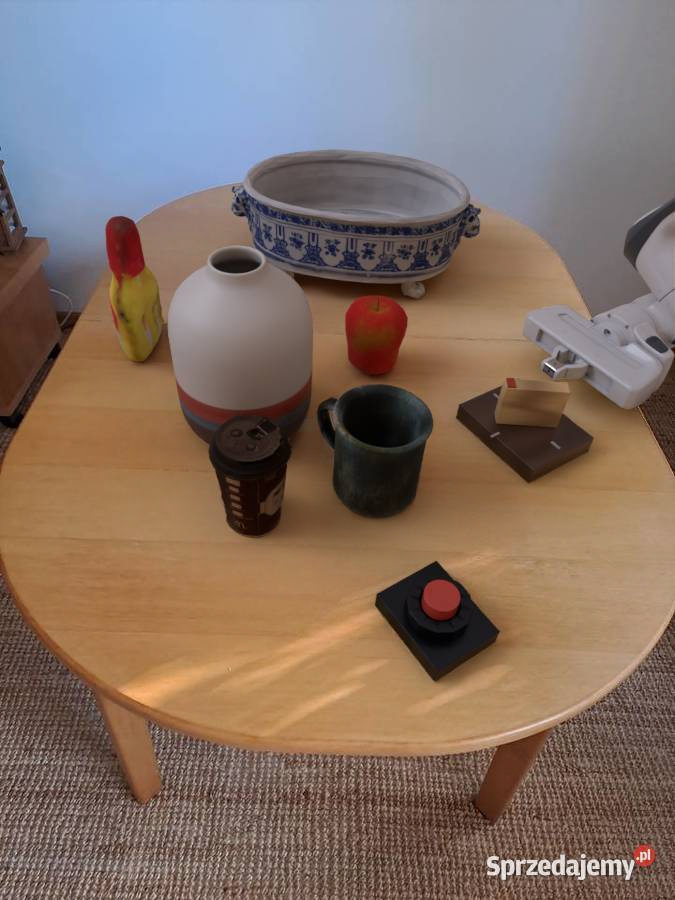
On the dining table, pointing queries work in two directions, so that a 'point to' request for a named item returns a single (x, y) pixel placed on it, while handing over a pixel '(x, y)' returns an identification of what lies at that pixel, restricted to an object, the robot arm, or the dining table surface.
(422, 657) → the button box
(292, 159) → the decorative bowl
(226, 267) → the vase
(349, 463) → the mug
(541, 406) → the wooden block
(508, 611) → the dining table surface
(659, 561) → the dining table surface
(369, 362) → the apple
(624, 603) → the dining table surface
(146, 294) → the bottle
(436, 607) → the red button
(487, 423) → the dark flat block
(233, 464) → the coffee cup
